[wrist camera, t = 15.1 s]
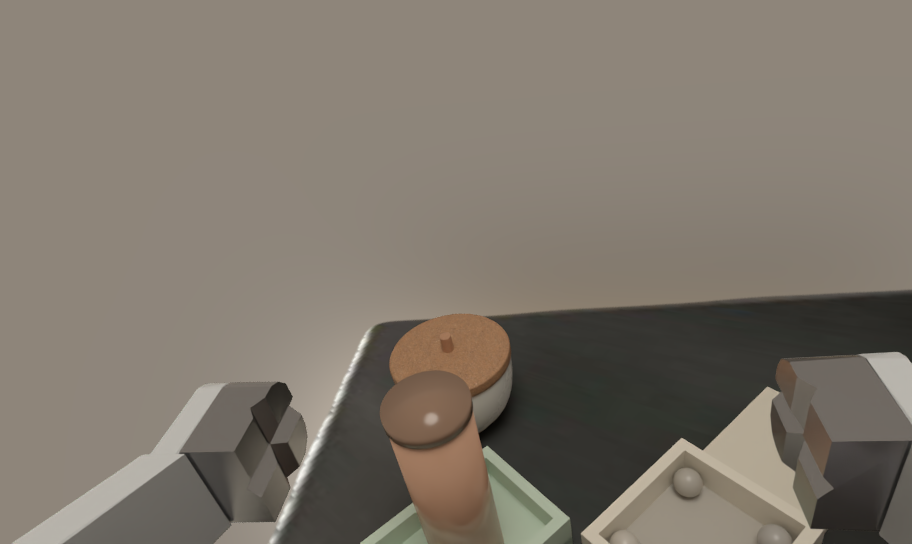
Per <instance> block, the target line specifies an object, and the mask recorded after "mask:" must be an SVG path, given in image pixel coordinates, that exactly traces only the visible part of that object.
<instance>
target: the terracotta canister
mask: <svg viewBox="0 0 912 544" xmlns="http://www.w3.org/2000/svg"><path fill="white" fill-rule="evenodd" d="M380 418H381V422H382V424H383V427H384V430H385V432H386V434H387V436H388V437H389V438H390V441H391V444H392V447H393V449H394V452H395V455H396V458H397V460H398V463H399V466H400V469H401V471H402V474H403V477H404V480H405V482H406V485H407V488H408V491H409V493H410V496H411V499H412V502H413V504H414V507H415V510H416V513H417V515H418V518H419V521H420V524H421V526H422V529H423V532H424V535H425V537H426V540H427V543H428V544H504V539H503V534H502V530H501V526H500V522H499V518H498V513H497V509H496V505H495V501H494V497H493V493H492V488H491V484H490V480H489V476H488V472H487V467H486V463H485V459H484V455H483V451H482V446H481V442H480V438H479V434H478V430H477V426H476V421H475V417H474V413H473V401H472V397H471V393H470V390H469V387H468V385H467V384H466V382H465V381H464V380H463V379H462V378H460V377H459V376H457V375H455V374H453V373H450V372H446V371H439V370H432V371H424V372H420V373H416V374H413V375H411V376H409V377H406V378H405V379H403V380H401V381H400V382H398V383H397V384H396V385H394V386H393V387H392V388H391V389H390V390H389V391H388V393H387V394H386V395H385V397H384V399H383V401H382V403H381V407H380Z"/></svg>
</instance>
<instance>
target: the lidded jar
mask: <svg viewBox="0 0 912 544" xmlns="http://www.w3.org/2000/svg"><path fill="white" fill-rule="evenodd" d="M389 366H390V372H391V375H392V378H393V381H394V383H395V385H396V384H397V383H398V382H400V381H401V380H403V379H405V378H406V377H409V376H411V375H413V374H416V373H420V372H424V371H432V370H439V371H446V372H450V373H453V374H455V375H457V376H459V377H460V378H462V379H463V380H464V381H465V382H466V384H467V385H468V387H469V390H470V393H471V397H472V401H473V413H474V417H475V421H476V426H477V430H478V433H480V432H482V431H483V430H485V429H486V428H487V427H488V426H489V425H490V424H491V423H493V422H494V421H495V420H496V419H497V418H498V417H499V415H500V414H501V413H502V411H503V410H504V408H505V406H506V404H507V402H508V399H509V397H510V393H511V388H512V361H511V347H510V342H509V338H508V336H507V333H506V332H505V331H504V329H503V328H502V327H501V326H500V325H498V324H497V323H496V322H494V321H492V320H490V319H488V318H486V317H483V316H479V315H473V314H452V315H445V316H441V317H437V318H434V319H431V320H428V321H426V322H424V323H422V324H420V325H418V326H416V327H415V328H413V329H412V330H410V331H409V332H408V333H406V334H405V335H404V336H403V337H402V338H401V339H400V341H399V342H398V343H397V344H396V346H395V348H394V350H393V351H392V354H391V357H390V363H389Z"/></svg>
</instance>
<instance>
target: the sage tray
mask: <svg viewBox="0 0 912 544" xmlns="http://www.w3.org/2000/svg"><path fill="white" fill-rule="evenodd" d="M482 451H483V455H484V459H485V463H486V467H487V472H488V476H489V480H490V484H491V488H492V493H493V497H494V501H495V505H496V509H497V513H498V518H499V522H500V526H501V530H502V534H503V539H504V544H573V539H572V531H571V523H570V518H569V517H568V516H566V515H565V514H564V513H563V512H562V511H561V510H560V509H558V508H557V507H556V506H555V505H554V504H553V503H552V502H550V501H549V500H548V499H547V498H546V497H545V496H544V495H542V494H541V493H540V492H539V491H538V490H537V489H536V488H534V487H533V486H532V485H531V484H530V483H529V482H528V481H527V480H525V479H524V478H523V477H522V476H521V475H520V474H519V473H517V472H516V471H515V470H514V469H513V468H512V467H511V466H509V465H508V464H507V463H506V462H505V461H504V460H503V459H501V458H500V457H499V456H498V455H497V454H496V453H495V452H493V451H492V450H491V449H490V448H489V447H488V446H486V447H485V448H483V449H482ZM360 544H428V543H427V540H426V537H425V535H424V532H423V529H422V526H421V524H420V521H419V518H418V515H417V513H416V510H415V507H414V504H413V503H412V504H411V505H409V506H408V507H407V508H405V509H404V510H403V511H401V512H400V513H399V514H398V515H396V516H395V517H394V518H392V519H391V520H390V521H388V522H387V523H386V524H385V525H383V526H382V527H381V528H379V529H378V530H377V531H375V532H374V533H373V534H371V535H370V536H369V537H368V538H366V539H365V540H364V541H362V542H361V543H360Z"/></svg>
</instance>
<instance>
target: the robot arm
mask: <svg viewBox="0 0 912 544" xmlns="http://www.w3.org/2000/svg"><path fill="white" fill-rule="evenodd" d="M776 380H777V383H778V385H779V387H780V389H781V392H780V393H779V394H778V395H777V396H776V397H775V398H773V399H772V405H771V414H770V418H771V428H772V435H773V439H774V442H775V446H776V449H777V451H778V454H779V456H780V459H781V461H782V462H783V463H784V464H786V465H787V466H788V467H790V468H791V469H792V470H794V471H795V477H794V482H793V490H794V492H795V494H796V497H797V499H798V501H799V504H800V506H801V508H802V511H803V513H804V515H805V518H806V520H807V522H808V525H809V527H810V529H828V530H855V531H880V533H879V535H880V536H881V537H882V538H883V539H885V540H886V541H887V542H888V543H889V544H912V363H911V362H910V361H909V360H908V358H907V357H906V356H904V355H902V354H901V353H899V352H889V353H872V354H858V355H842V356H824V357H805V358H786V359H781V361H780V363H779V364H778V367H777V372H776ZM292 397H293V396H292V395H291V393H290V391H289V389H288V387H287V385H286V384H285V383H281V382H241V383H240V382H237V383H219V384H218V383H217V384H216V383H215V384H205V385H203V386H201V387H199V388H198V389H197V390H196V392H195V393H194V394H193V396H192V397H191V399H190V400H189V401H188V403H187V404H186V406H185V407H184V408H183V410H182V411H181V412H180V414H179V415H178V417H177V418H176V419H175V421H174V422H173V424H172V425H171V426H170V428H169V429H168V431H167V432H166V433H165V435H164V436H163V437H162V439H161V440H160V441H159V443H158V444H157V446H156V447H155V449H154V450H153V451H152V453H151V454H147V455H141V456H140V457H138V458H137V459H136V460H134V461H133V462H131V463H130V464H128V465H127V466H125V467H124V468H122V469H121V470H119V471H118V472H116V473H115V474H113V475H112V476H110V477H109V478H107V479H106V480H104V481H103V482H102V483H100V484H99V485H97V486H96V487H94V488H93V489H91V490H90V491H88V492H87V493H85V494H84V495H82V496H81V497H79V498H78V499H77V500H75V501H73V502H72V503H71V504H69V505H68V506H66V507H65V508H63V509H62V510H60V511H59V512H57V513H56V514H54V515H53V516H51V517H50V518H48V519H47V520H45V521H44V522H43V523H41V524H40V525H38V526H37V527H35V528H34V529H32V530H31V531H29V532H28V533H27V534H25V535H24V536H22V537H20V538H19V539H17V540H16V541H14V542H13V543H12V544H214V543H215V542H216V540H217V539H218V538H219V537H220V536H221V535H222V534H223V533H224V532H225V531H226V530H227V529H228V528H229V527H230V526H231V523H233V522H234V523H235V522H275V521H276V519H277V517H278V515H279V512H280V510H281V508H282V506H283V504H284V501H285V499H286V497H287V495H288V492H289V490H290V485H289V482H288V478H287V477H288V476H289V475H290V474H291V473H293V472H294V471H295V470H296V469H297V468H298V467H299V466H300V465H301V462H302V460H303V457H304V455H305V451H306V443H307V431H306V426H305V422H304V420H303V418H302V416H301V414H300V413H298V412H297V411H296V410H294V409H293V408H291V407H290V406H289V405H290V402H291V400H292Z"/></svg>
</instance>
